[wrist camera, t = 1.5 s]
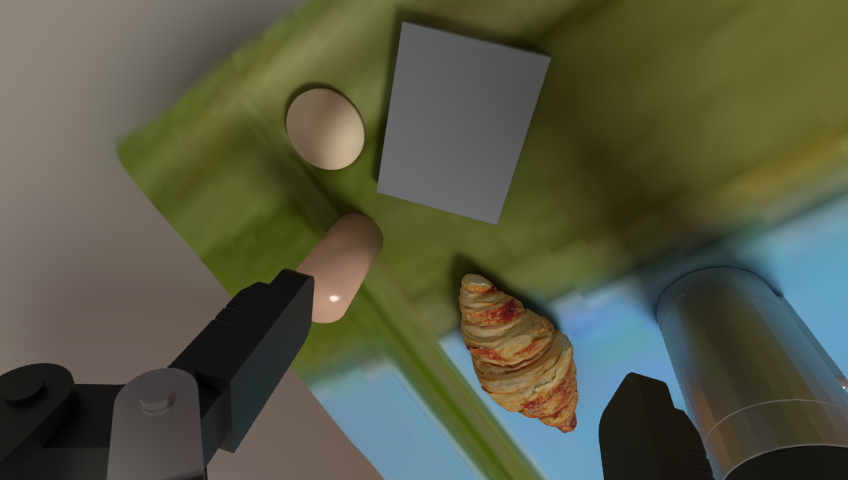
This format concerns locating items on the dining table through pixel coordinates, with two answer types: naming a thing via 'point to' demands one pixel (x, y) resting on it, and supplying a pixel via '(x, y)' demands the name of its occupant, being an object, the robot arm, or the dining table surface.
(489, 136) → the slate board
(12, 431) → the robot arm
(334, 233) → the pinkish tan rounded cylinder
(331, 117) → the cork coaster
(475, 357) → the croissant
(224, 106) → the dining table surface
